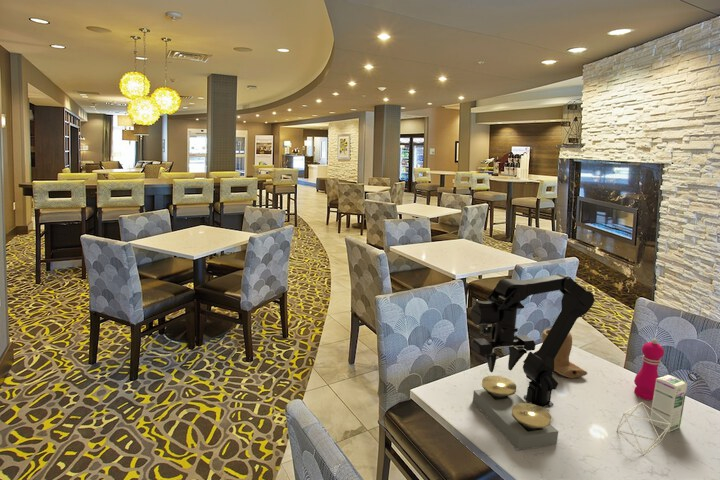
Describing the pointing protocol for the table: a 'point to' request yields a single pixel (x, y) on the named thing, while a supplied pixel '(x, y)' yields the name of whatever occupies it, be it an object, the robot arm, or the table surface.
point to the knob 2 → (531, 416)
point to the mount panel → (512, 421)
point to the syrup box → (668, 402)
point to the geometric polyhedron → (643, 436)
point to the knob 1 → (498, 386)
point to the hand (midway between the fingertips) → (500, 370)
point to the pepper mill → (648, 370)
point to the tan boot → (565, 359)
